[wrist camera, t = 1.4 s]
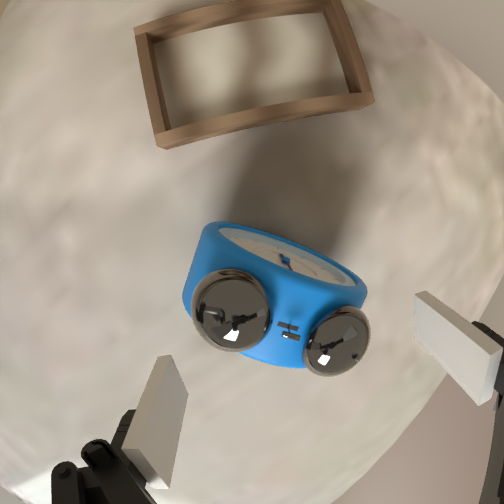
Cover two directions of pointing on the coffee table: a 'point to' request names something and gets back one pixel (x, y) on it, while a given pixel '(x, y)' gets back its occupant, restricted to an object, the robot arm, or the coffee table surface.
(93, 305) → the coffee table surface
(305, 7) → the open rectangular wooden box
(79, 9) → the coffee table surface
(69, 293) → the coffee table surface
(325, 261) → the alarm clock
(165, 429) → the robot arm
